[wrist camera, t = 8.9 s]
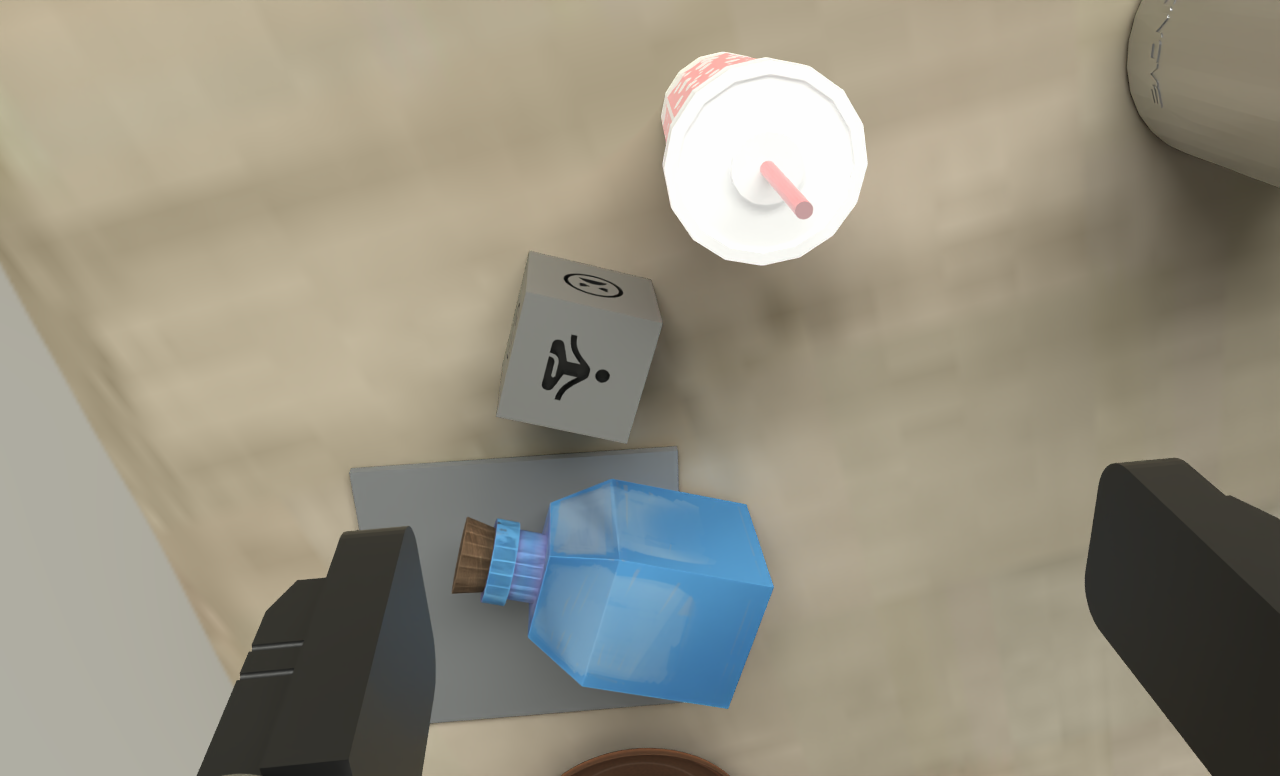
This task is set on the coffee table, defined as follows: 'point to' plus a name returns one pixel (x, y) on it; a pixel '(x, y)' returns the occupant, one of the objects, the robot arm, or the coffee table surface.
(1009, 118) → the coffee table surface
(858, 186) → the beverage cup
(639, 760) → the cup and saucer
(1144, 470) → the robot arm
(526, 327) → the dice cube
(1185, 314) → the coffee table surface
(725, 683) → the perfume bottle
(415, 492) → the mat
